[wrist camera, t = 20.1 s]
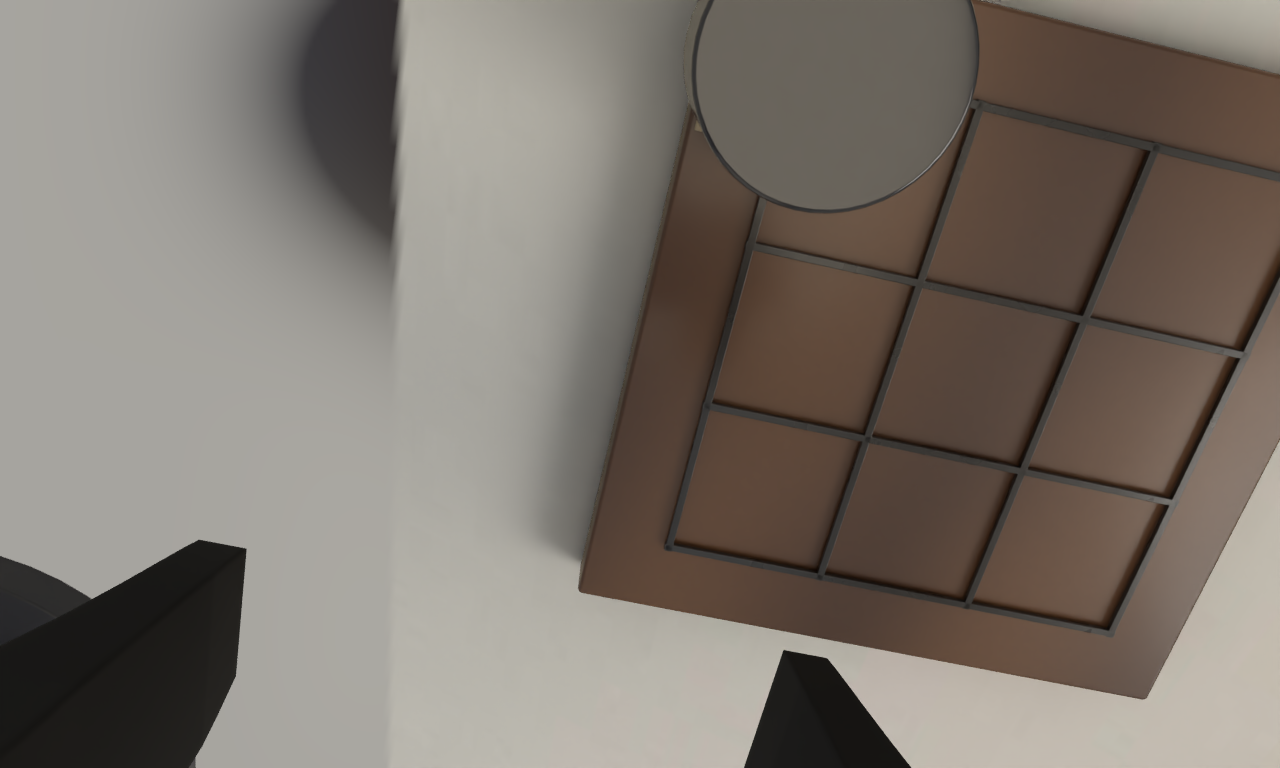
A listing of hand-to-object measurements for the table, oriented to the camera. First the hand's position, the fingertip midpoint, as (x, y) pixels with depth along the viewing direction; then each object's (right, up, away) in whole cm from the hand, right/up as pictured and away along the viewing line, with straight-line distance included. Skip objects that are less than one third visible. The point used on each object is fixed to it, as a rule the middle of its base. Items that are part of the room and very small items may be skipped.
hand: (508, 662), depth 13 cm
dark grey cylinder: (+5, +10, +5) cm, 12 cm away
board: (+9, +4, +8) cm, 13 cm away
